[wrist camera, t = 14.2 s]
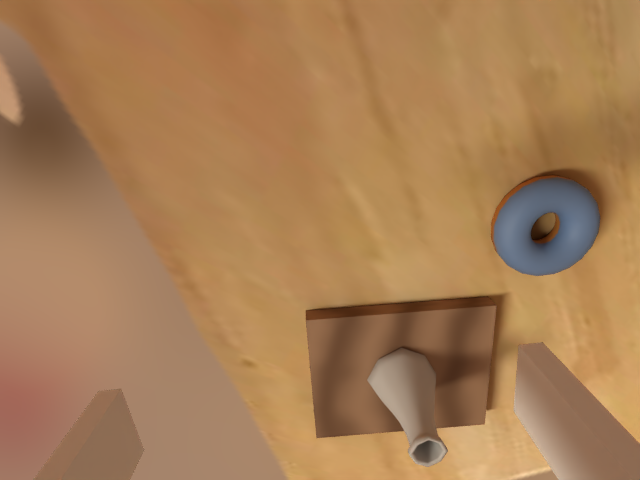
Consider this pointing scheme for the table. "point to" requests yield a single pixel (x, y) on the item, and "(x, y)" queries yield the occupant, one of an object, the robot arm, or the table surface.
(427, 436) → the flask
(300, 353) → the table surface
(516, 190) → the doughnut
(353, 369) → the walnut board
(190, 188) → the table surface
